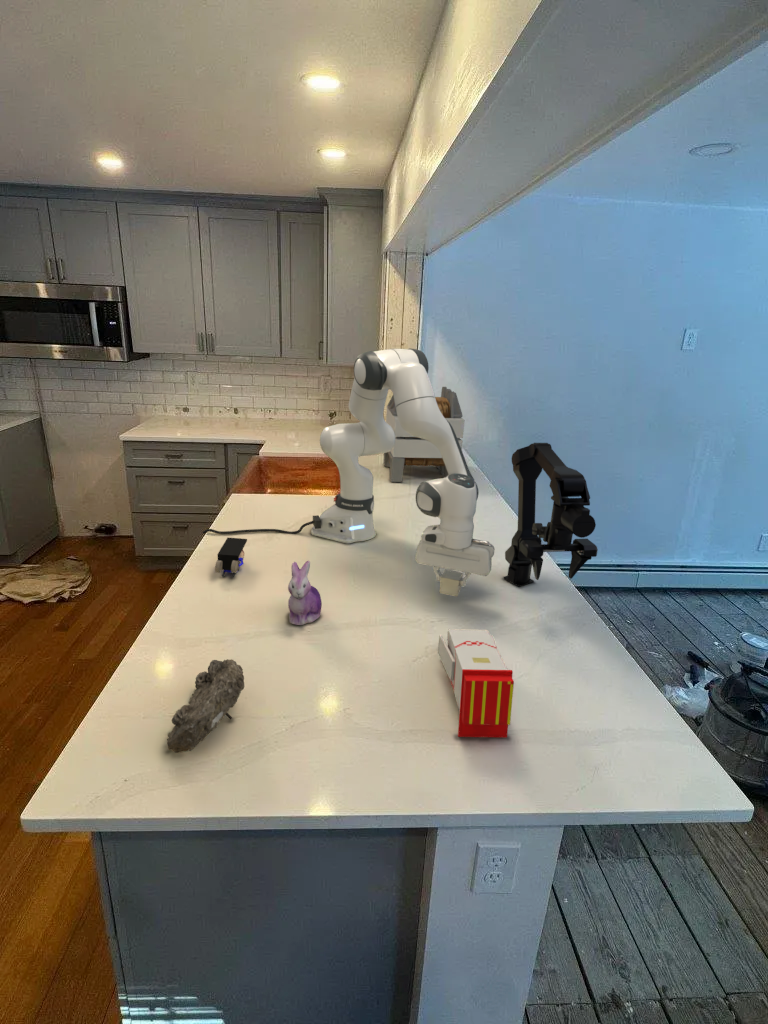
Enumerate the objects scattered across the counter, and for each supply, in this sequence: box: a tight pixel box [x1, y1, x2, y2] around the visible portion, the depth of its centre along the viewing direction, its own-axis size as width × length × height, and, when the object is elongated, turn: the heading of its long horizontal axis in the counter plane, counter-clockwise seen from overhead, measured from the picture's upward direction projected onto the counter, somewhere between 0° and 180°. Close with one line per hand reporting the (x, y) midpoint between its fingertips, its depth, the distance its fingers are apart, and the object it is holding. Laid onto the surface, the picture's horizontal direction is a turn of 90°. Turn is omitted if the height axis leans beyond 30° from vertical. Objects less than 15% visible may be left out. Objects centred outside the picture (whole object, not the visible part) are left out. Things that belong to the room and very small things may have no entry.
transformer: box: [383, 386, 465, 483], centre depth 268 cm, size 34×33×41 cm
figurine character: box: [214, 537, 248, 578], centre depth 166 cm, size 7×8×15 cm
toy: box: [437, 628, 515, 738], centre depth 117 cm, size 12×13×30 cm
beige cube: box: [438, 568, 464, 598], centre depth 153 cm, size 5×5×5 cm
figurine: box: [287, 560, 323, 626], centre depth 141 cm, size 9×10×15 cm
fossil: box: [166, 658, 245, 754], centre depth 106 cm, size 22×10×15 cm
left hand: (450, 582), depth 153 cm, fingers closed on beige cube, 5 cm apart
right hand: (553, 578), depth 146 cm, fingers open, 9 cm apart
